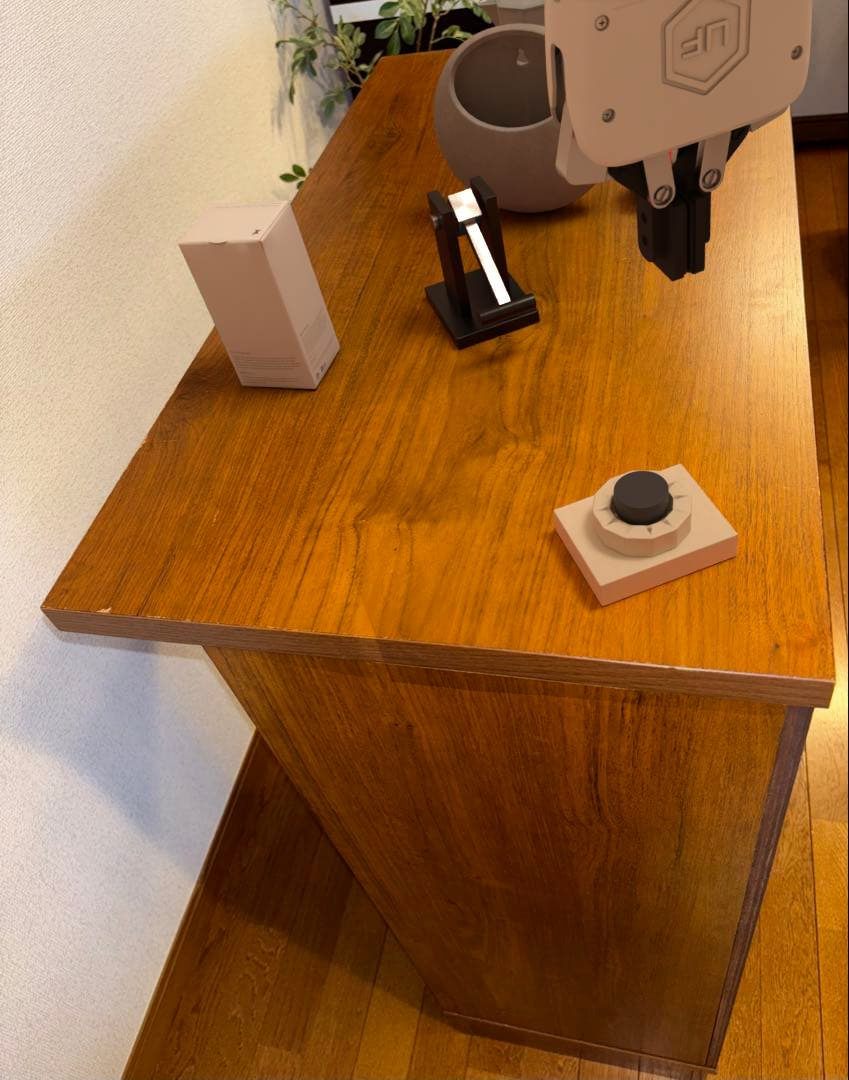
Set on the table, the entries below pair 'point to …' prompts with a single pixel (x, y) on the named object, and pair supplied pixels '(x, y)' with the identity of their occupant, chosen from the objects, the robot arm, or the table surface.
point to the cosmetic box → (262, 293)
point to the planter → (502, 119)
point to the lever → (485, 260)
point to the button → (641, 498)
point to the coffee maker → (515, 14)
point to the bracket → (471, 273)
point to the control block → (644, 538)
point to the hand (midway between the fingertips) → (673, 263)
